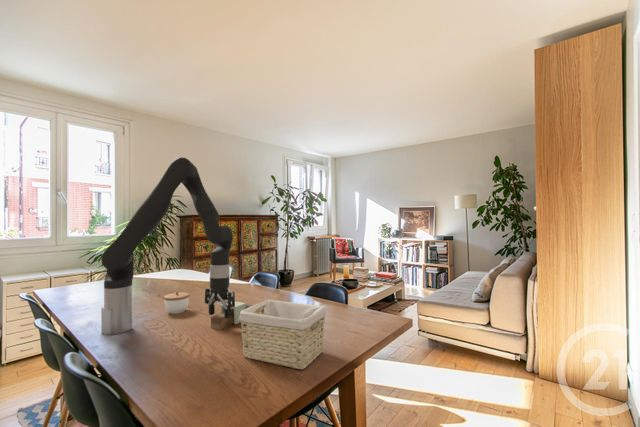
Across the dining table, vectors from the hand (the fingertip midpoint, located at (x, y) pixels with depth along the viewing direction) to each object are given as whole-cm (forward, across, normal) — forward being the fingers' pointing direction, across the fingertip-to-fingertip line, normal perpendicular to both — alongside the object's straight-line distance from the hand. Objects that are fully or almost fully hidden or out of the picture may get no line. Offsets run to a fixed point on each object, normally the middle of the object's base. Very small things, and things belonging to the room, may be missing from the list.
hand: (219, 316), depth 121 cm
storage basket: (+4, +37, -8) cm, 38 cm away
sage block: (+4, 0, +8) cm, 9 cm away
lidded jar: (+5, -33, +6) cm, 34 cm away
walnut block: (+4, 0, +4) cm, 6 cm away
